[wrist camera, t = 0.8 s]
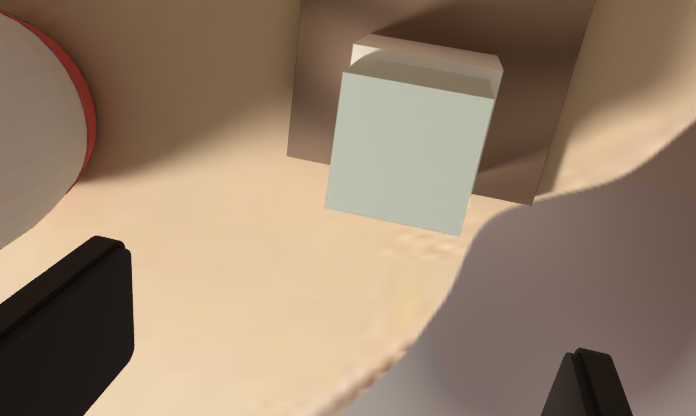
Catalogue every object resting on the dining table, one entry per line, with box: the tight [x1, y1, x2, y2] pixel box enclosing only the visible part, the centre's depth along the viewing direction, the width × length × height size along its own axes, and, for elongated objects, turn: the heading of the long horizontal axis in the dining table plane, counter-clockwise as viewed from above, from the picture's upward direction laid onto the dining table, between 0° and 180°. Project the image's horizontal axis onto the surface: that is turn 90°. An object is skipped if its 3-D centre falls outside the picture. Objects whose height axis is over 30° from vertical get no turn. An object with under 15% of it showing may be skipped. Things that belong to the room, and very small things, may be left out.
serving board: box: [287, 0, 595, 206], centre depth 30 cm, size 18×15×1 cm
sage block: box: [324, 57, 495, 237], centre depth 25 cm, size 6×6×4 cm
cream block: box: [350, 34, 503, 209], centre depth 29 cm, size 7×7×5 cm
